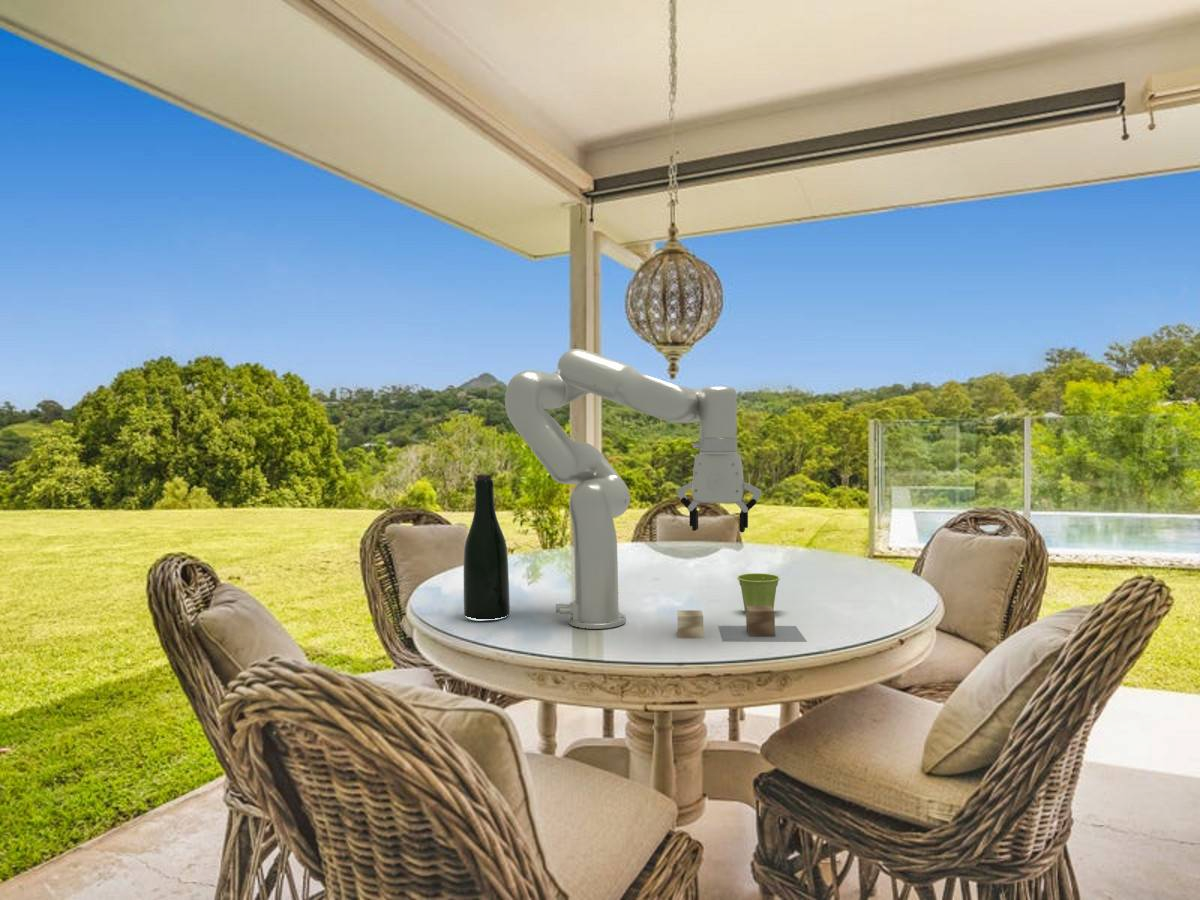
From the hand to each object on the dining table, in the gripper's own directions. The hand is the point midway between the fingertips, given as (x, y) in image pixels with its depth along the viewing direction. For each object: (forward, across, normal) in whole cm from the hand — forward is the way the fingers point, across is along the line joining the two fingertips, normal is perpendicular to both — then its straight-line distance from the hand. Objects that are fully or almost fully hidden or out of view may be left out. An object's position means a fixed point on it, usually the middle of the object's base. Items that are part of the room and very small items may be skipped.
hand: (718, 530), depth 147 cm
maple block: (+21, -5, -4) cm, 22 cm away
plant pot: (+21, +6, +18) cm, 28 cm away
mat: (+21, +8, 0) cm, 23 cm away
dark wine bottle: (+22, -54, +2) cm, 58 cm away
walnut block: (+20, +8, 0) cm, 22 cm away
